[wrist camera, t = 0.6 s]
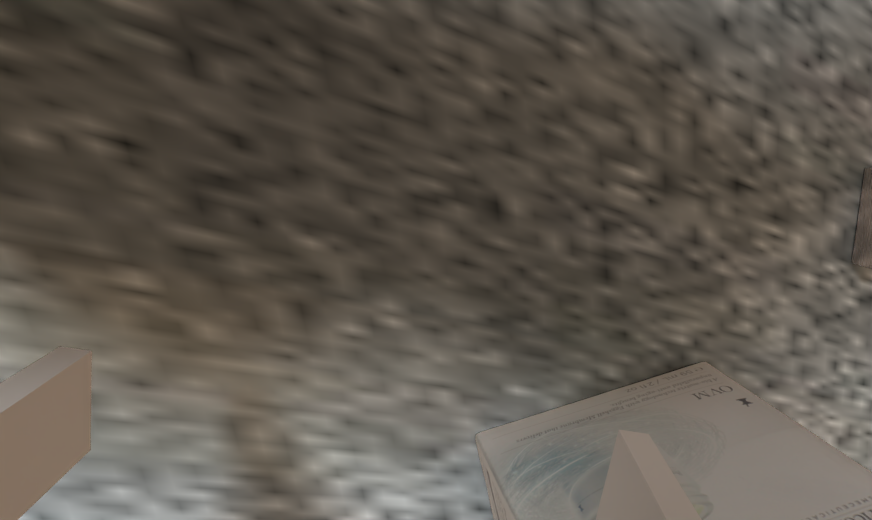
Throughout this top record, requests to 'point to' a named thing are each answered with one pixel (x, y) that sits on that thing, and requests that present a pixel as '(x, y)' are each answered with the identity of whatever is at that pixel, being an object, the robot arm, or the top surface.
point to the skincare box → (674, 454)
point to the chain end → (864, 225)
